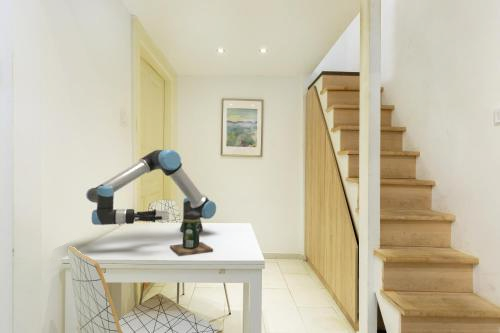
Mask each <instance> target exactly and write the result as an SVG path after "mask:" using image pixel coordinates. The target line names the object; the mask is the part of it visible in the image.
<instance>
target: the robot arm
mask: <svg viewBox="0 0 500 333" xmlns="http://www.w3.org/2000/svg"><path fill="white" fill-rule="evenodd" d="M181 160H182V159H181V156H180V154H179V152H178V151H176V150H173V149H170V148H167V149H157V150H153V151H151V152H149V153H148V154H145V155H144V156H143V157H141V158H139V160H138V162H136V163H134V164H133V165H131V166H130V167H128V168H126V169H125V170H123V171H121V172H120V173H118V174H116V175H115V176H112V177H111V178H109V179H108V180H106V181H104V182H103V183H101V184H99V185H97V186H95V187H91V188H89V189H88V190H87V191H86V194H85V195H86V199H87V200H88V201H90V202H91V203H95V204H96V209H93V210H92V212H91V223H92V225H94V226H98V225H99V226H104V225H105V226H107V225H118V226H121V225H124V224H127V225H131V224H132V225H133V224H134V223H135V222H153V223H156V222H157V221H169V220H170V215H169V210H156V209H153V210H147V211H146V210H145V211H136V212H135V209H134V208H126V209H125V208H120V209H119V208H117V209H114V198H115V197H114V196H115V192H117V191H119V190H121V189H122V188H124V187H125V186H127V185H128V184H130V183H132V182H133V181H135V180H137V179H138V178H140V177H142V176H143V175H145V174H146V173H147V174H149V173H151V172H153V171H157V170H161V171H162V173H163V174H164V175H165V176H166V177H170V179H171V180H172V181H173V182H174V184H176V185H177V187H178V188H179V190H180V191H181V192H182V194H183V195H184V196H185V197H184V198H183V201H182V202H183V203H182V204H183V206H182V208H183V210H182V222H181V224H180V227H179V228H180V229H179V232H180V233H183V230H184V220H183V219H184V214H186V213H188V212H191V211H197V212H199V213H200V224H199V233H202V232H203V230H204V229H203V228H204V226H203V224H202V221H201V219H205V220H209V219H211V218H213V217H214V216H215V214H216V213H217V205H216V203H215V202H214V201H213V200H209V198H208V197H207V196H206V194H202V193H201V191H200V190H199V189H198V187H197V186H196V185H195V183H194V182H193V181H192V179H191V178H190V177H189V176H188V174H187V173H186V171H185V170H184V169H183V164H182V161H181ZM201 231H202V232H201Z"/></svg>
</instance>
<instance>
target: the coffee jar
mask: <svg viewBox="0 0 500 333" xmlns="http://www.w3.org/2000/svg"><path fill="white" fill-rule="evenodd" d="M183 220H184V230H183V232H182V244H183V245H182V246H183V247H185V248H189V249H190V248H196V247H197V246H198V245H199V242H200V232H199V224H200V220H201V218H200V213H199V212H197V211H191V212H188V213H186V214H184V219H183V218H182V221H183Z"/></svg>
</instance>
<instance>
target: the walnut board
mask: <svg viewBox="0 0 500 333" xmlns="http://www.w3.org/2000/svg"><path fill="white" fill-rule="evenodd" d="M182 245H183V243H179V244H178V243H177V244H170V245H169V249H171V250H172V251H173V252H174V253H175V254H176V255H177V256H178V257H182V256H191V255H199V254H205V253H212V252H214V248H213V247H211V246H210V245H207V244H206V243H204V242H203V241H199V245H198V246H197V247H196V248H190V249H189V248H185V247H183V246H182Z"/></svg>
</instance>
